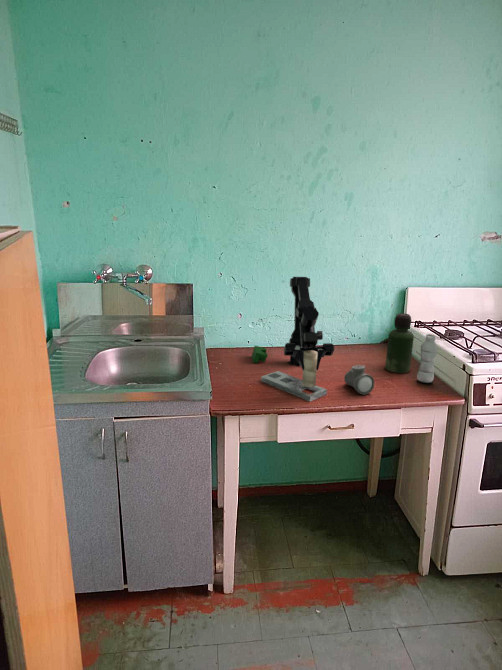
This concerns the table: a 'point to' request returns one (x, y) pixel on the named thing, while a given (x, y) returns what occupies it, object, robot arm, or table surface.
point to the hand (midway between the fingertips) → (310, 369)
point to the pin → (309, 368)
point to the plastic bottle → (427, 359)
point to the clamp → (259, 354)
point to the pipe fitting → (359, 379)
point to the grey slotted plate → (292, 385)
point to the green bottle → (400, 345)
